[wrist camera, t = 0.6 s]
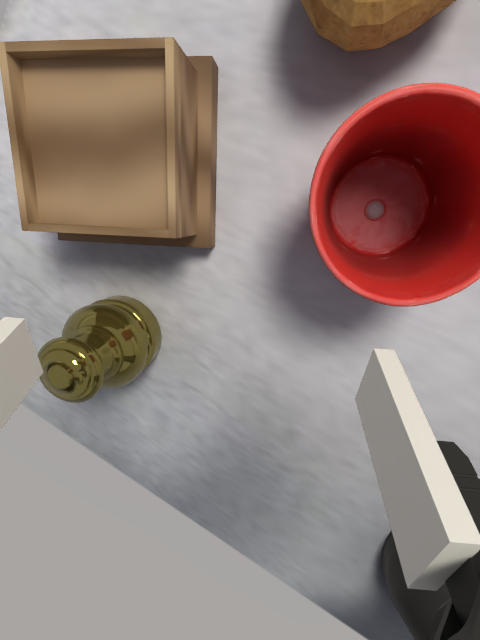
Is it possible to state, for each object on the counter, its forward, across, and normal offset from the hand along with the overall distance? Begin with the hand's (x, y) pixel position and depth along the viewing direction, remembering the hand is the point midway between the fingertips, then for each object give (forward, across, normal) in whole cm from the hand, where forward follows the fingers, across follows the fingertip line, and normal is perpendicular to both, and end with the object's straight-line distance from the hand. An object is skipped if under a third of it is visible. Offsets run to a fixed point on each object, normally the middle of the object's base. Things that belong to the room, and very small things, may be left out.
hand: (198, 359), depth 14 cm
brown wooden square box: (+20, +8, -3) cm, 22 cm away
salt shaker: (+16, +9, +12) cm, 22 cm away
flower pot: (+18, -11, -1) cm, 21 cm away
